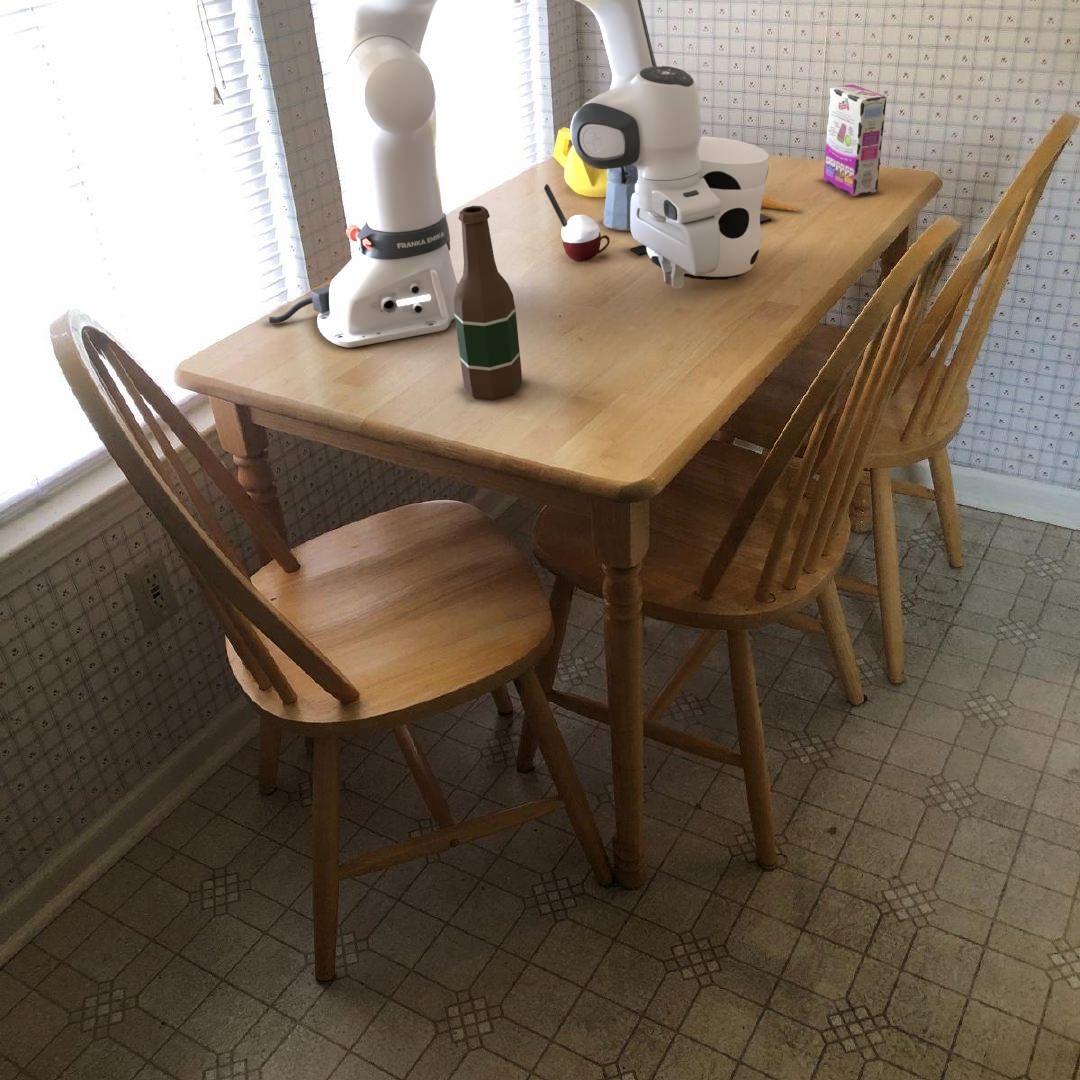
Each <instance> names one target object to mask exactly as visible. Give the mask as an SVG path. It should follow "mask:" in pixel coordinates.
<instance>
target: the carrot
mask: <svg viewBox="0 0 1080 1080" xmlns="http://www.w3.org/2000/svg"><path fill="white" fill-rule="evenodd" d="M761 209H769V210H770V209H771V210H781V211H782V210H784V211H794V212H795V211H798V210H797V209H795V208H792V207H790V206H789V205H786V204H784V203H782V202H780V201H777V200H775V199H773V198H771V197H769V196H766V195H765V194H764V195H763V200H762V204H761Z"/></svg>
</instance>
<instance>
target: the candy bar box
mask: <svg viewBox="0 0 1080 1080" xmlns="http://www.w3.org/2000/svg"><path fill="white" fill-rule="evenodd" d="M887 99H888V98H887V96H885V95H882V94H880V93H877V92H874V91H872V90H869V89H867V88H863V87H861V86H858V85H855V84H846V85H839V86H834V87H830V88H829V100H828V101H829V102H828V110H827V111H828V113H827V124H826V125H827V126H826V140H825V151H824V166H823V179H822V180H823V181H824V182H825V183H827V184H829V185H831V186H833V187H835V188H837V189H838V190H841V191H842V192H844V193H846V194H848V195H850V196H852V197H861V196H868V195H873V194H876V193H878V186H879V175H880V174H879V173H880V164H881V155H882V147H883V146H882V144H883V137H884V136H883V135H884V127H885V117H886V116H885V115H886V109H887V107H886V106H887Z"/></svg>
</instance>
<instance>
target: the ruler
mask: <svg viewBox="0 0 1080 1080" xmlns="http://www.w3.org/2000/svg"><path fill="white" fill-rule="evenodd" d="M768 222H772V217H769V216H767V215H764V214H763V213H760V225H762V224H765V223H768ZM629 251H630V252H632V253H634V254H636V255H637V256H639V257H640V256H645V255H648V253H647V248H646V246H645V245H643V244H640V245H637V246H634V247H630V248H629Z"/></svg>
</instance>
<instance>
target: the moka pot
mask: <svg viewBox="0 0 1080 1080" xmlns="http://www.w3.org/2000/svg"><path fill="white" fill-rule="evenodd" d="M607 178H608V183H607V192H606V197H605V201H604V202H605V203H604V210H603V211H604V213H603V222H602V224H603V226H604V227H606V228H607V229H611V230H617V231H627V232H628V231H631V229H630V206H631V197H632V195H633V194H634V193H635V184H636V183H637V181H638V170H637V167H636V166H634V165H629V166H625V167H619V168H612V169H607Z"/></svg>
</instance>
